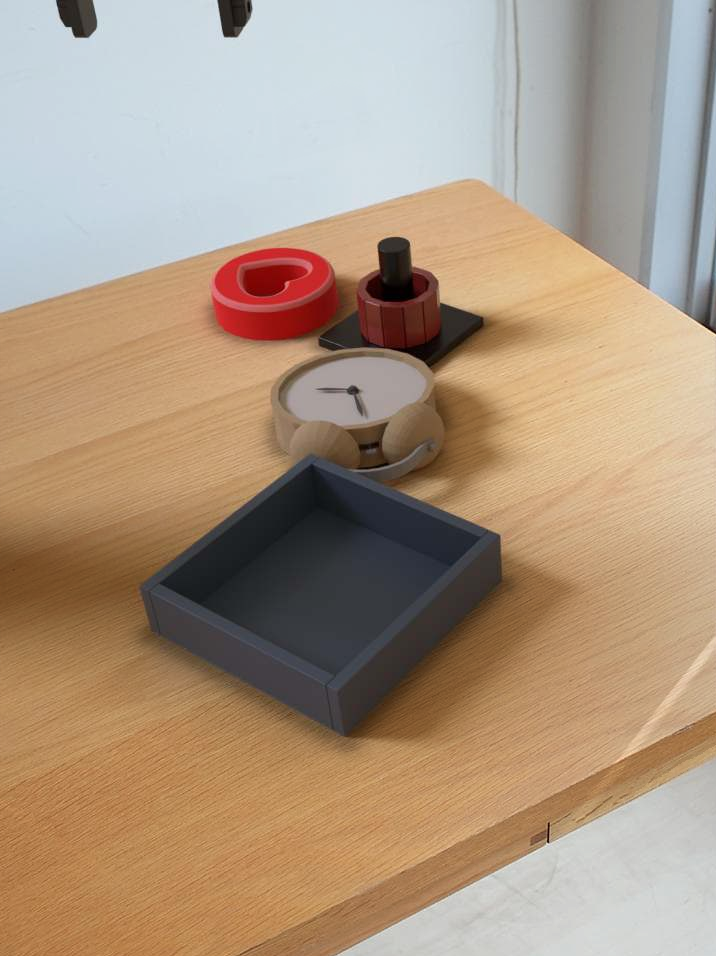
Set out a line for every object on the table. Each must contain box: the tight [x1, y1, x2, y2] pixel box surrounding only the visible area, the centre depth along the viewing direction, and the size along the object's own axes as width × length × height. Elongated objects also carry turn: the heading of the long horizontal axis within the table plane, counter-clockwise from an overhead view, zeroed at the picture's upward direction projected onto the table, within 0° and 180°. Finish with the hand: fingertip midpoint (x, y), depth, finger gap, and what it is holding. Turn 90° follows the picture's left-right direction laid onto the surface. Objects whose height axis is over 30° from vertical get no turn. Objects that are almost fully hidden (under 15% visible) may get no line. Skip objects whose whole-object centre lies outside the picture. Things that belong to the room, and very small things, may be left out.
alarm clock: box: [269, 348, 445, 484], centre depth 89 cm, size 11×5×15 cm
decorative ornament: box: [209, 247, 339, 342], centre depth 104 cm, size 10×10×3 cm
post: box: [317, 236, 485, 369], centre depth 98 cm, size 9×9×8 cm
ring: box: [355, 265, 441, 348], centre depth 99 cm, size 6×6×4 cm
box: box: [139, 453, 503, 738], centre depth 77 cm, size 15×15×4 cm
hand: (159, 33), depth 74 cm, fingers open, 8 cm apart
